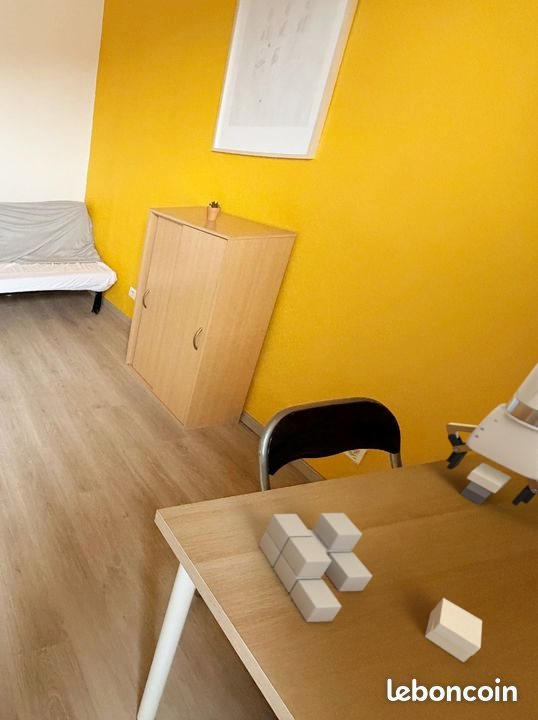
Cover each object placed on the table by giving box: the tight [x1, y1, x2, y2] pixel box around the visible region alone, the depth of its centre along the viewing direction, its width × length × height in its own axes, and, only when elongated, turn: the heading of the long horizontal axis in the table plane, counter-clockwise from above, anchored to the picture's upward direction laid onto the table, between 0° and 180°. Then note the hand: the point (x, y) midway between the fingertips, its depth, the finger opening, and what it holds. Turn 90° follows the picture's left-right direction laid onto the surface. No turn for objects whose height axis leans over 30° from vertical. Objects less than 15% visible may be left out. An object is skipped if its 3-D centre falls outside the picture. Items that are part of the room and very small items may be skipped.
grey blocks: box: [460, 480, 493, 506], centre depth 80 cm, size 5×3×4 cm, turn 116°
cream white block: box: [466, 462, 512, 494], centre depth 79 cm, size 5×4×2 cm
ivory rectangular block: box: [424, 597, 483, 663], centre depth 58 cm, size 5×4×4 cm
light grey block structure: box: [258, 512, 373, 623], centre depth 64 cm, size 12×12×8 cm
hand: (482, 483), depth 80 cm, fingers open, 8 cm apart
